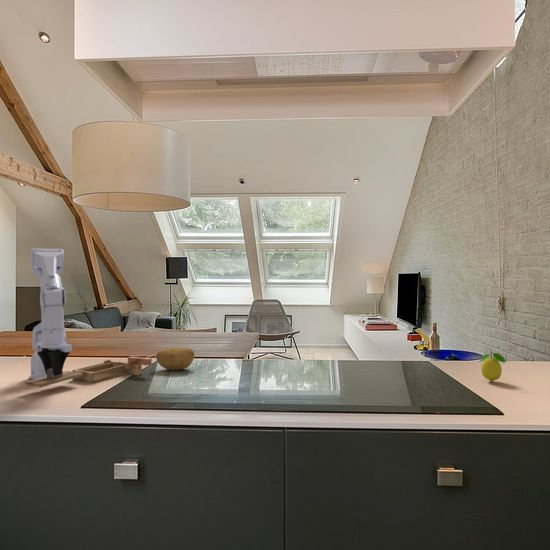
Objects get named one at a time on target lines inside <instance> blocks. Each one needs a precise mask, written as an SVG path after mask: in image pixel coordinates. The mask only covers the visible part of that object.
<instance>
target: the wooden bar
mask: <svg viewBox="0 0 550 550" xmlns="http://www.w3.org/2000/svg"><path fill="white" fill-rule="evenodd" d="M127 362H128V363H131V364H140V365H142V366H151V365H152V358H150V357H142V356H141V357H140V356H128V357H127Z"/></svg>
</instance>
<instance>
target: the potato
mask: <svg viewBox="0 0 550 550" xmlns="http://www.w3.org/2000/svg"><path fill="white" fill-rule="evenodd" d="M155 355H156V356H155V358H156V362H157V363H158V364H159V365H160V367H161V368H164V369H166V370H170V371H180V370H185V369H187V368H189V366H191V365H192V363H193V361H194V359H195V355H196V353H195V351H194V350H193V349H192V348H189V347H180V346H178V347H172V348H171V347H170V348H163V349H161V350H158V351H157V353H156V354H155Z"/></svg>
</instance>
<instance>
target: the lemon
mask: <svg viewBox="0 0 550 550" xmlns="http://www.w3.org/2000/svg"><path fill="white" fill-rule="evenodd" d="M492 351H493V350H490V354H484V355H483V356H482V357H481V359H480V360H479V363H482V364H481V370H480V371H481V375H482V376H483V377H484V378H485V379H486V380H488V381H489V382H491V383H493V382H494V381H496V380H499V379H500V378H501V376H502V372H503V371H502V370H503V369H502V364H501V363H507V361H506V359H505V358H504V355H502V354H500V353H498V352H492Z"/></svg>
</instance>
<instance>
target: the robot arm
mask: <svg viewBox="0 0 550 550" xmlns="http://www.w3.org/2000/svg"><path fill="white" fill-rule="evenodd" d="M64 251H65V250H64V249H63V248H35V247H32V248H31V250H30V266H31V271H32V272H31V273H32V274H33V275H34V276H36V277H37V278H38V281H39V284H40V294H39V304H40V309H41V311H40V312H41V313H40V314H41V321H40V322H39V323H38V324H37V325H35V326H34V327H33V329H32V334H31V335H32V336H31V339H32V340H31V345H32V346H31V347H32V349H31V350H32V351H34V353H33V354H32V355H31V357H30V376H28V379H29V378H31V379H30V380H34V379H38V378H41V377H45V376H47V369H50V368H52V370H53V375H54V376H56V375H60V374H61V373H62V369H64V365H65V362H66V360H67V358H68V356H69V355H70V352H73V344H69V343H68V342H67V334H66V327H65V319H64V318H65V315H64V313H65V312H64V311H65V310H64V309H65V308H66V307H65V306H66V301H67V300H66V299H67V296H66V291H65V289H64V286H63V284H62V278H61V277H60V275H61V274H62V272H63V269H64V264H65V253H64Z"/></svg>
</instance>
